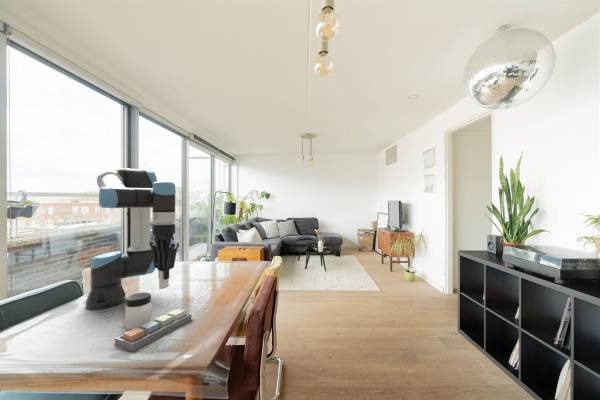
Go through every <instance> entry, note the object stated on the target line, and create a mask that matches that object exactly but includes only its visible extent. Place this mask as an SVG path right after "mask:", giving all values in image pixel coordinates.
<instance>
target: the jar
mask: <svg viewBox="0 0 600 400" xmlns="http://www.w3.org/2000/svg"><path fill="white" fill-rule="evenodd" d="M152 303H153V302H152V294H151V293H150V292H138V293H134V294H130V295H128V296H126V300H125V303H124V304H125V306H124V307H125V311H124V312H125V313H124V316H125V318H124V326H125V328H126V329H127V330H132V329H134V328H139V327H140V326H141V325H143V324H145V323H147V322H150V321H153V320H152V319H153V318H152V313H153V312H152V310H153V309H152V308H153V307H152V305H153V304H152Z"/></svg>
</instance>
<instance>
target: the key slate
mask: <svg viewBox="0 0 600 400" xmlns="http://www.w3.org/2000/svg"><path fill="white" fill-rule="evenodd" d="M140 329H142V330H144V332H145V333H148V334H150V333H152V332H154V331H156V330H158V329H159V323H158V322H154V320H152V321H150V322H147V323H145V324H143V325H141V326H140Z"/></svg>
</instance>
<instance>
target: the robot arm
mask: <svg viewBox="0 0 600 400" xmlns="http://www.w3.org/2000/svg"><path fill="white" fill-rule="evenodd" d="M96 184H97V187H98V188H99V190H98V205H99V207H100V208H103V209H129V208H130V245H129V247H128V248H127V249H126V253H122V251H110V252H106V253H102V254H98V255H95V256H94V257H92V259H91V261H90V290H89V293H88V296H87V297H86V301H85V309H87V310H100V309H107V308H112V307H115V306H118V305H120V304H123V303H124V302H126V298H127V295H126V291H125V290H124V287H123V285H122V281H123V280H122V279H125V278H134V277H138V276H139V277H140V276H145V275H150V274H153V273H154V272H155V270H156V269H157V271H158V288H159V289H161V290H164V289H166V288H168V287H169V279H170V270H171V269H174V268H175V263H176V262H175V261H176V257H177V252H178V248H179V246H180V243H179V242H176V241H175V238H174V235H175V234H176V224H175V223H176V193H177V191H176V185H175V183H174V182H169V181H158V178H157V176H156V174H155V172H154V171H153V170H152V169H151V170H150V169H144V168H143V169H142V168H141V169H140V168H126V167H125V168H124V167H113V168H109V169H106V170H103V171H102V172H100V173H99V174H98V176H97V178H96ZM151 208H152V220H151ZM151 221H152V224H153V225H152V226H151ZM151 227H152V228H151ZM151 229H152V230H151ZM151 234H152V235H153V236H154V237H153V241H151ZM159 289H158V290H159Z"/></svg>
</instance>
